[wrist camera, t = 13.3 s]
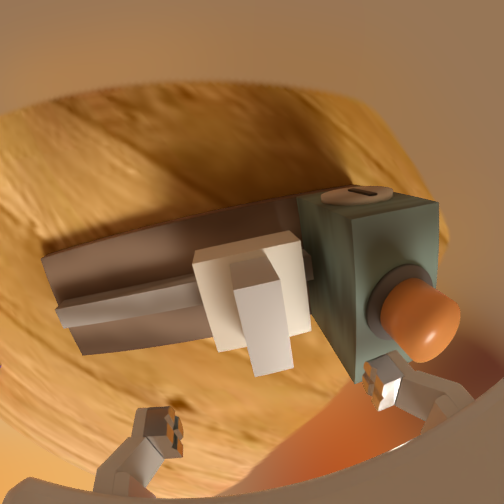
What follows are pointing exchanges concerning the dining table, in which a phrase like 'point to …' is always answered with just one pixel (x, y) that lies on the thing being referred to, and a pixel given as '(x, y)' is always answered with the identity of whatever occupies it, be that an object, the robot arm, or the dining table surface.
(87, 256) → the rail base
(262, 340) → the carriage
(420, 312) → the button
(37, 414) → the dining table surface
